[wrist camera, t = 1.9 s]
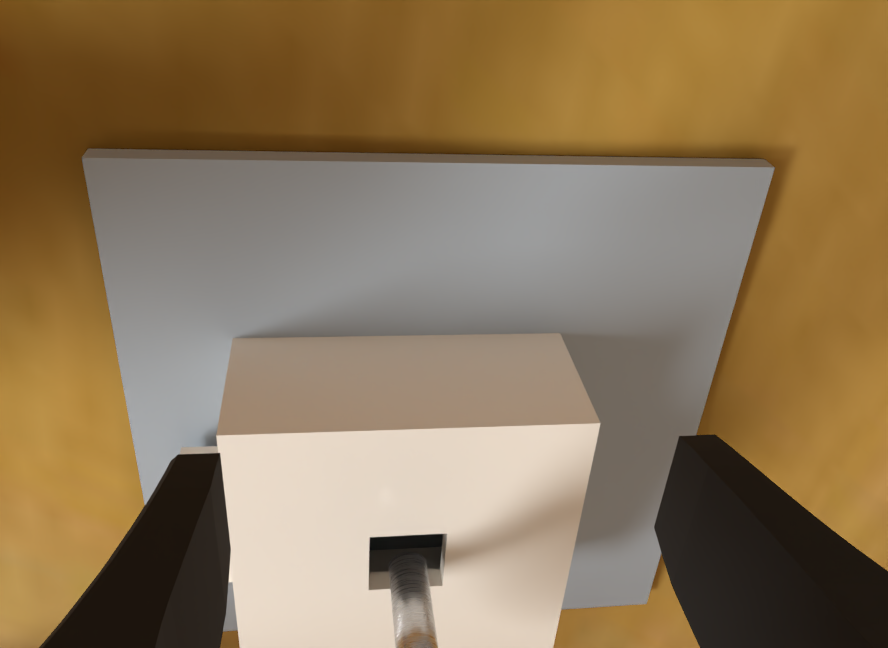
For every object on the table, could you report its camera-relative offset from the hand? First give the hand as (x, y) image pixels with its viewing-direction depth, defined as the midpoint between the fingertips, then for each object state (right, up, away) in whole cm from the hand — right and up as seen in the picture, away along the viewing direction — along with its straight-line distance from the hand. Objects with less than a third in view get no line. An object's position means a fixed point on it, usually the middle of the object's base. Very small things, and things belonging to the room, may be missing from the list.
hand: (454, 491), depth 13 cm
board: (-1, 0, +12) cm, 12 cm away
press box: (-2, -1, +12) cm, 12 cm away
